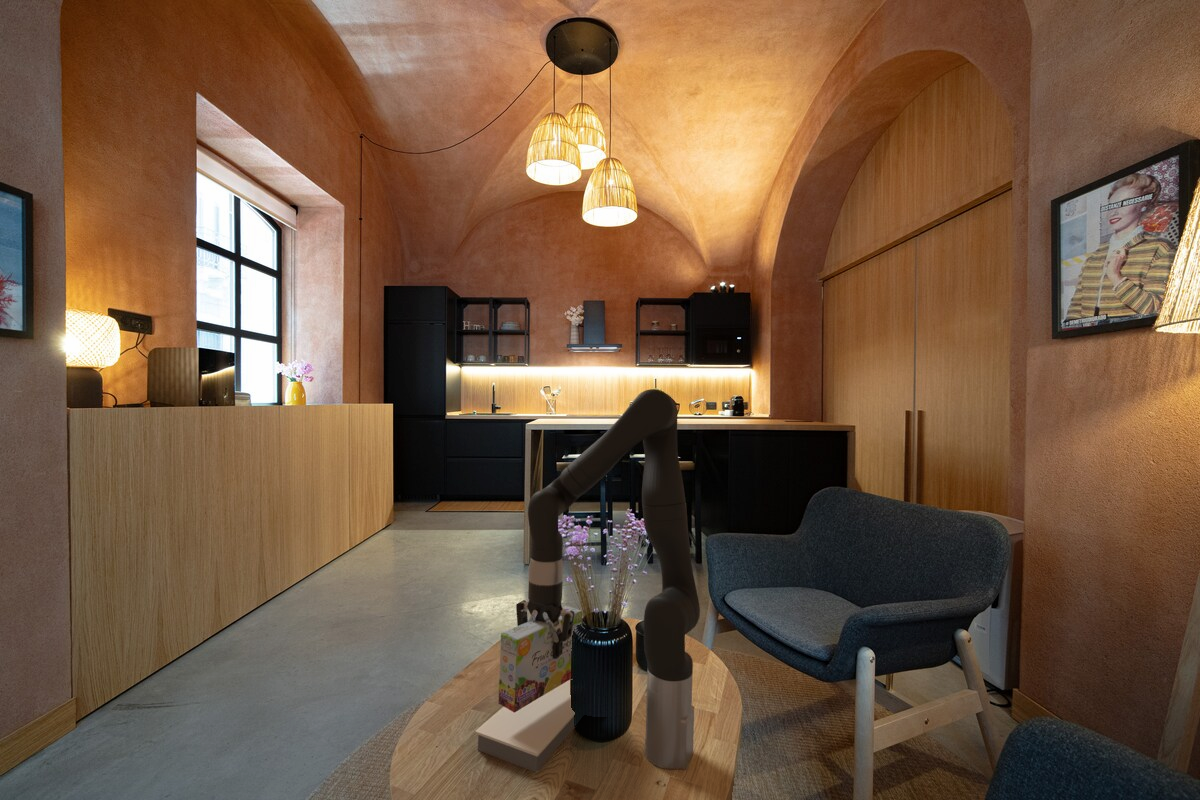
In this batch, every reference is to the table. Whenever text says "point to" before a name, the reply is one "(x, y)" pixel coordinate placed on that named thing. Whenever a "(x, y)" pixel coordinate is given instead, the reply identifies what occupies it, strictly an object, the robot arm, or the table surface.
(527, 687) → the snack box
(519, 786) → the table surface
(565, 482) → the robot arm
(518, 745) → the display podium
